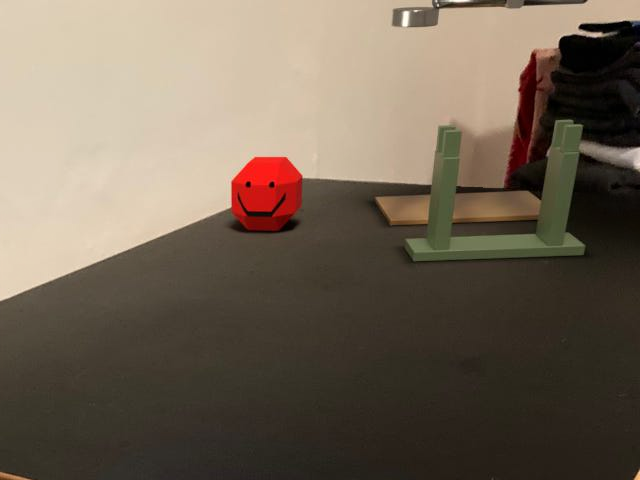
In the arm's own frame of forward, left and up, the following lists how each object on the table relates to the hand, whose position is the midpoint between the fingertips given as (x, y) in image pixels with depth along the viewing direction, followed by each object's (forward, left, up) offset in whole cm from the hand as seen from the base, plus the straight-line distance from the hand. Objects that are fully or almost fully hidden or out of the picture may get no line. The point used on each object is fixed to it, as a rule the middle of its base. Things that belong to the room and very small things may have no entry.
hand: (509, 7), depth 111 cm
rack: (+3, +19, -22) cm, 29 cm away
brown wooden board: (+2, -2, -22) cm, 22 cm away
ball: (+27, +3, -22) cm, 35 cm away
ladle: (+2, 0, -1) cm, 3 cm away
